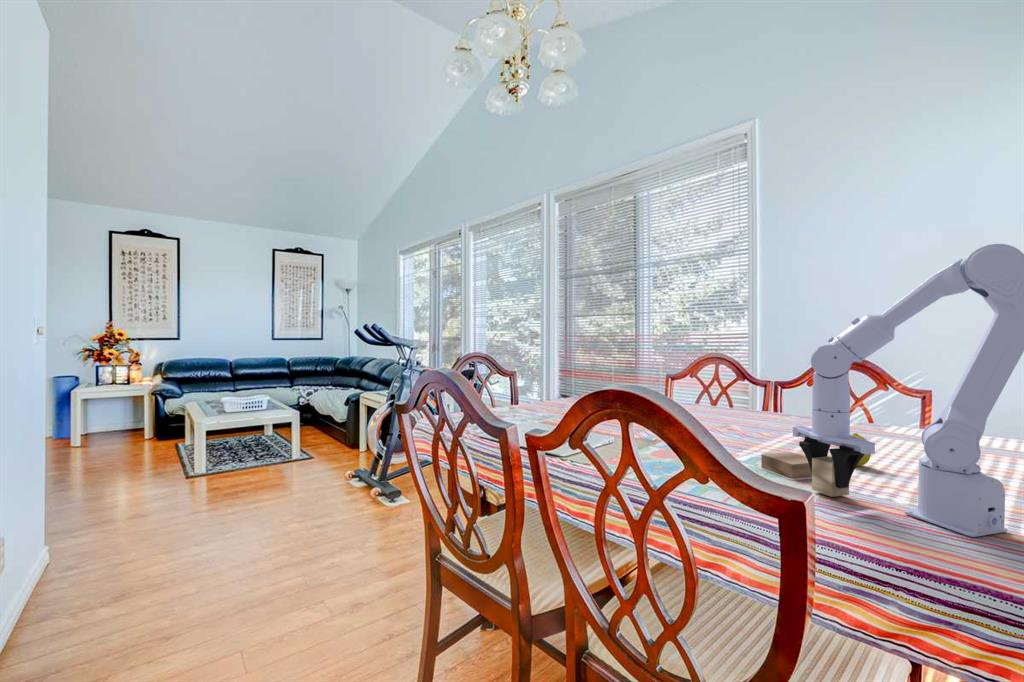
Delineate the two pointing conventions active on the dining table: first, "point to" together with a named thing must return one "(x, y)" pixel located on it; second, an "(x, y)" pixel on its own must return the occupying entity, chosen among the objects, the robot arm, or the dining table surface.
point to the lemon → (866, 456)
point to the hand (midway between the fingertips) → (830, 483)
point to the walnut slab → (787, 464)
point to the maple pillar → (825, 477)
